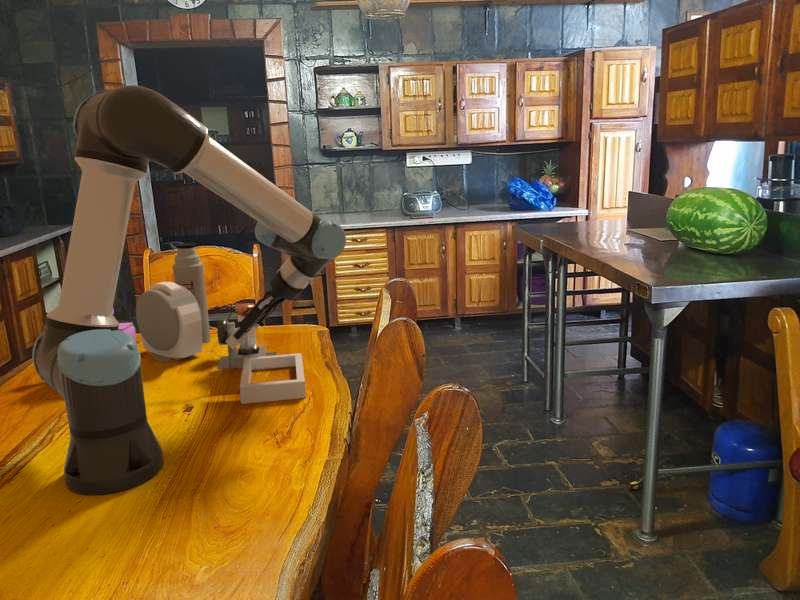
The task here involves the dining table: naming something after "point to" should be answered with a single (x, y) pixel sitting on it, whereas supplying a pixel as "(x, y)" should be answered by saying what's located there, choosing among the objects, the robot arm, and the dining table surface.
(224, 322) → the block
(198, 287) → the thermos bottle
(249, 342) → the pin
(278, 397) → the tray
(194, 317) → the beige rounded housing
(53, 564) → the dining table surface
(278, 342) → the dining table surface
